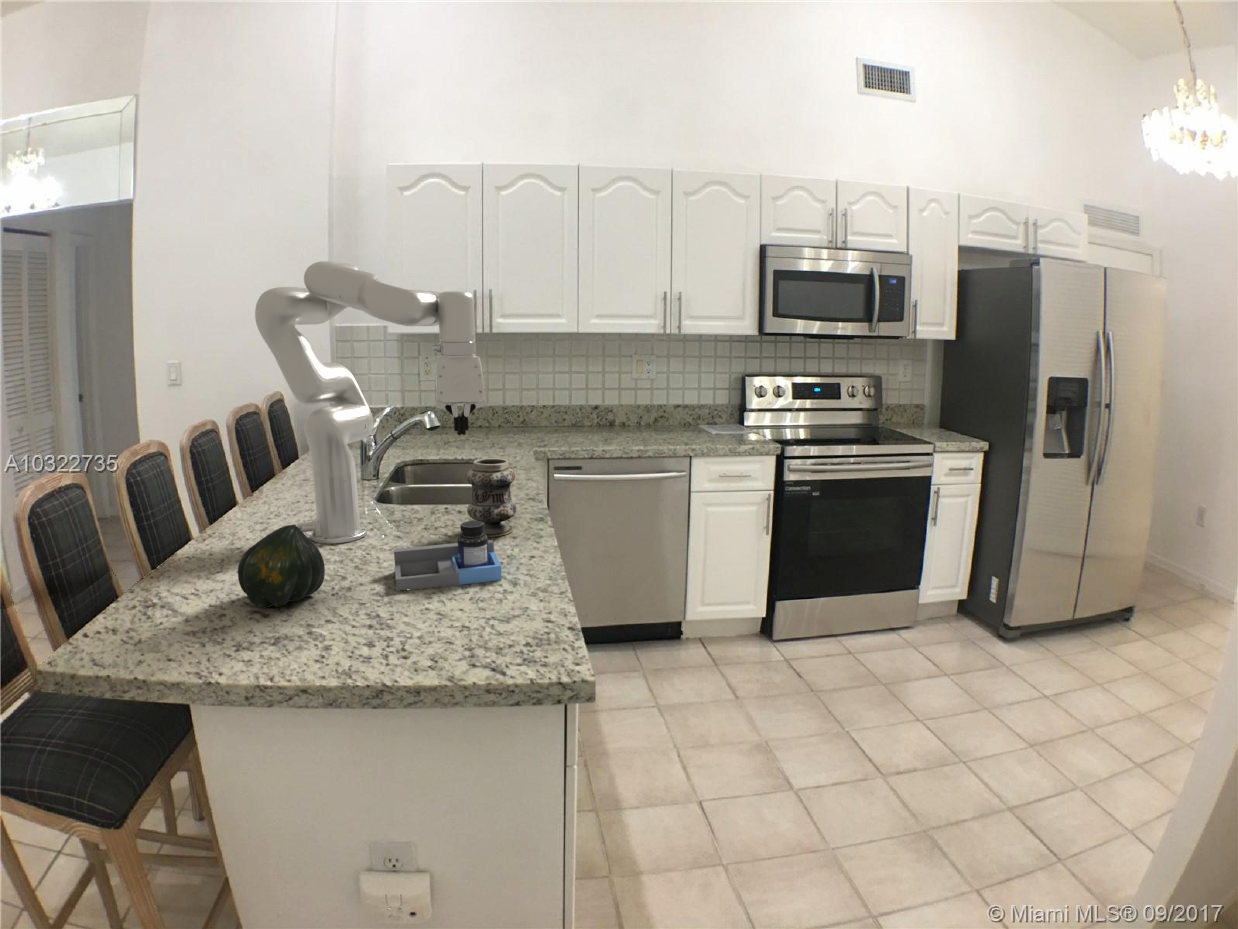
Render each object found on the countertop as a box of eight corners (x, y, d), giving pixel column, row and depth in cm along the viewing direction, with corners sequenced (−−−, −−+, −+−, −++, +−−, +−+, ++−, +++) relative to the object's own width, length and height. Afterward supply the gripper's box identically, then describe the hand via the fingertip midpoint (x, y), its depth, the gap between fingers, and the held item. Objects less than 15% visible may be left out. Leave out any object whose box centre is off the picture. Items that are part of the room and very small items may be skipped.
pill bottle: (461, 569, 150) (459, 519, 148) (490, 569, 151) (488, 519, 148) (456, 580, 144) (454, 528, 142) (487, 579, 144) (485, 527, 142)
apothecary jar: (521, 525, 182) (520, 456, 178) (510, 539, 170) (508, 466, 167) (476, 523, 183) (473, 455, 179) (461, 537, 171) (458, 465, 168)
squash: (206, 586, 126) (258, 525, 124) (249, 561, 141) (296, 506, 139) (270, 636, 127) (322, 577, 126) (306, 606, 142) (353, 552, 140)
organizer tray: (396, 591, 138) (395, 567, 137) (395, 571, 149) (393, 549, 148) (501, 580, 144) (500, 556, 143) (493, 561, 155) (492, 539, 154)
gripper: (423, 351, 147) (427, 438, 151) (495, 350, 152) (497, 435, 155) (421, 349, 154) (425, 433, 158) (490, 349, 159) (492, 430, 162)
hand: (461, 433), depth 157 cm, fingers closed
